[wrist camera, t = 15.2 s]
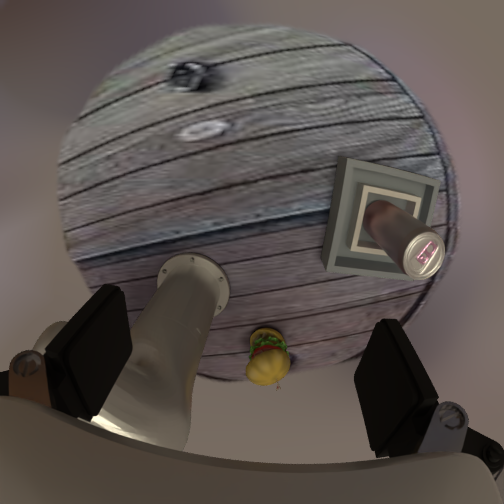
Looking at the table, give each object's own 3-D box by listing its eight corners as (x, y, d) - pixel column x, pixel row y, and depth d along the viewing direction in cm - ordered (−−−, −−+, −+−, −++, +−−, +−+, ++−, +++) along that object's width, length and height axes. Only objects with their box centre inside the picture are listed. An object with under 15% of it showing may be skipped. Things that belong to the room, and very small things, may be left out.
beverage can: (403, 215, 40) (454, 251, 26) (379, 244, 42) (421, 290, 28) (378, 191, 38) (427, 218, 25) (353, 221, 41) (391, 262, 27)
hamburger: (256, 316, 49) (252, 364, 38) (294, 327, 50) (299, 375, 38) (244, 347, 52) (237, 395, 41) (279, 356, 52) (280, 404, 41)
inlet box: (406, 268, 44) (418, 281, 39) (320, 257, 44) (326, 271, 40) (429, 177, 38) (445, 182, 33) (338, 155, 38) (347, 158, 33)
